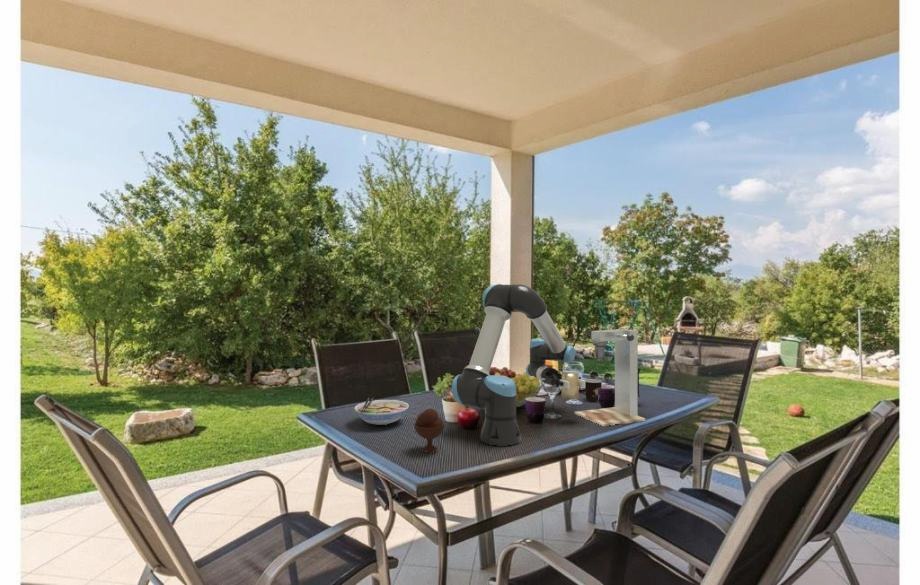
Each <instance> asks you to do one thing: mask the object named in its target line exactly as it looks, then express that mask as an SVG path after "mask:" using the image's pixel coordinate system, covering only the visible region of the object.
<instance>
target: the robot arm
mask: <svg viewBox="0 0 920 585" xmlns="http://www.w3.org/2000/svg"><path fill="white" fill-rule="evenodd" d="M482 307H483V309H484V311H483V312H484V313H485V314H486V315H485V318H484V320H483V323H482V325H481V326H482V327H481V329H480V332H479V334H478V337H477V339H476V340H477V341H476V343H475V346H474V350H473V352H472V355H471V358H470V361H469V364H468V366H465V367H464V368H463V370H462V373H461V374H457V375H456V376H455V377H454V378H453V380H452V382H451V394H452V398H453V399H454V401H455V402H456V403H457V404H459V405H461V406H465V407H471V408H477V409H482V410H484V421H483V425H482V427H481V431H480V441H481V443H483V442H484V444H485V443H486V444H485V445H488V444H489V446H493V445H497V446H496V447H509V446H508V445H511V446H515V445H518V444H519V443H520V442H521V441H522V434H521V431H520V428H519V425H518V421H517V387H516V382H515V380H513V379H512V378H510V377H507V376H503V375H495V374H494V375H493V374H490V370H491V368H492V364H493V361H494V358H495V356H496V352H497V348H498V345H499V342H500V339H501V337H502V333H503V331H504V327H505V323H506V321H508V320H510V319H511V316H512V313H522V314H524V315H525V317H527V319H529V320H531V321H532V323H533V325H534V327H535V328H536V330H537V332H538V333H539V334H540V336H541V338H532V339H530V341H529V363H528V364H527V366H526V368H525V373H526V374H528V375H530V376H534V377H538V378H539V380H540V381H539V382H541V383H543V384H547V385H550V386H555V387H556V388H560V387H561V388H562V387H564V388H567V389H570V382H567V381H564V380H562V373H560V372H559V371H558V370H557V369H556V368H553V367H550V366H547V365H546V361H555V362H563V363H572V362H573V361H574V360H575V358H576V348H575V347H574V346H572V345H567V344H566V342H565V340H564V338H563V337H562V335H561V333H560V331H559V330H558V327H557V326H556V324H555V323H554V321H553V319H552V318H551V316H550V314H549V312H548V311H547V309H548V307H547V303H546V302H545V300H544V299H543V298H542V297H541V295H540V294H539V293H538V292H536V291H535V290H534V289H533V288H531V287H530V286H528V285H525V284H519V283H517V284H501V283H498V284H492V285H489V286H487V288H485V290H484V292H483V294H482ZM528 375H527V376H528ZM581 378H582V377H579V386H580V387H581V388H583V389H585V381H584V380H585V379H581ZM517 443H518V444H517ZM514 444H515V445H514Z"/></svg>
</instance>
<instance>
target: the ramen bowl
mask: <svg viewBox="0 0 920 585" xmlns="http://www.w3.org/2000/svg"><path fill="white" fill-rule="evenodd" d="M374 399H375V397H374V396H372V397H371V398H370V397H369V396H368V397H367V400H366V401H364V402H361V403H358V404H356V405H355V406H354V411H355V413H356V414H357V416H358V417H359V418H360V419H361V420H363V421H364V422H365V423H368V424H371V425H374V424H375V425H374V426H376V425H385V424H389V425H390V423H391V424H393V423H395V422H398V421H400V419H401V418H403V416H404V415H405V414H406V413H407V411H408V409H409V406H410V405H409V403H407V402H405V401H403V400H398V399H375V400H374ZM385 426H386V425H385Z"/></svg>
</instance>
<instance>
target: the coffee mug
mask: <svg viewBox="0 0 920 585" xmlns="http://www.w3.org/2000/svg"><path fill="white" fill-rule="evenodd" d="M583 380H584V381H585V388H584V392H583V391H582V389H581V388H582V387H580V386H579V391H580V393H581V394H583V395H584V396H585V398H586V400H585V401H586V402H588V401H589V403H597V402H596V401H598V389H599V388H601V389H602V383H603V381H602V380H601V379H596V378H594V379H593V378H588V379H583Z"/></svg>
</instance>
